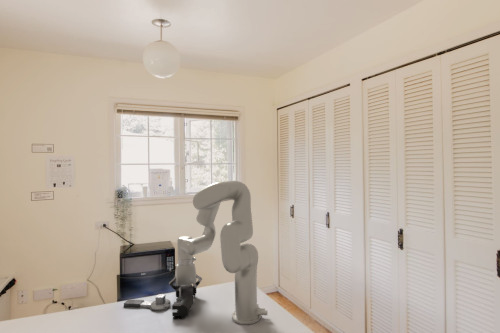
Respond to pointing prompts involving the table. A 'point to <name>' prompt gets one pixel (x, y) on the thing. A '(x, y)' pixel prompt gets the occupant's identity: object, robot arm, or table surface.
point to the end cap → (182, 307)
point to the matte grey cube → (186, 290)
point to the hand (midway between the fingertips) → (186, 296)
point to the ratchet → (150, 303)
